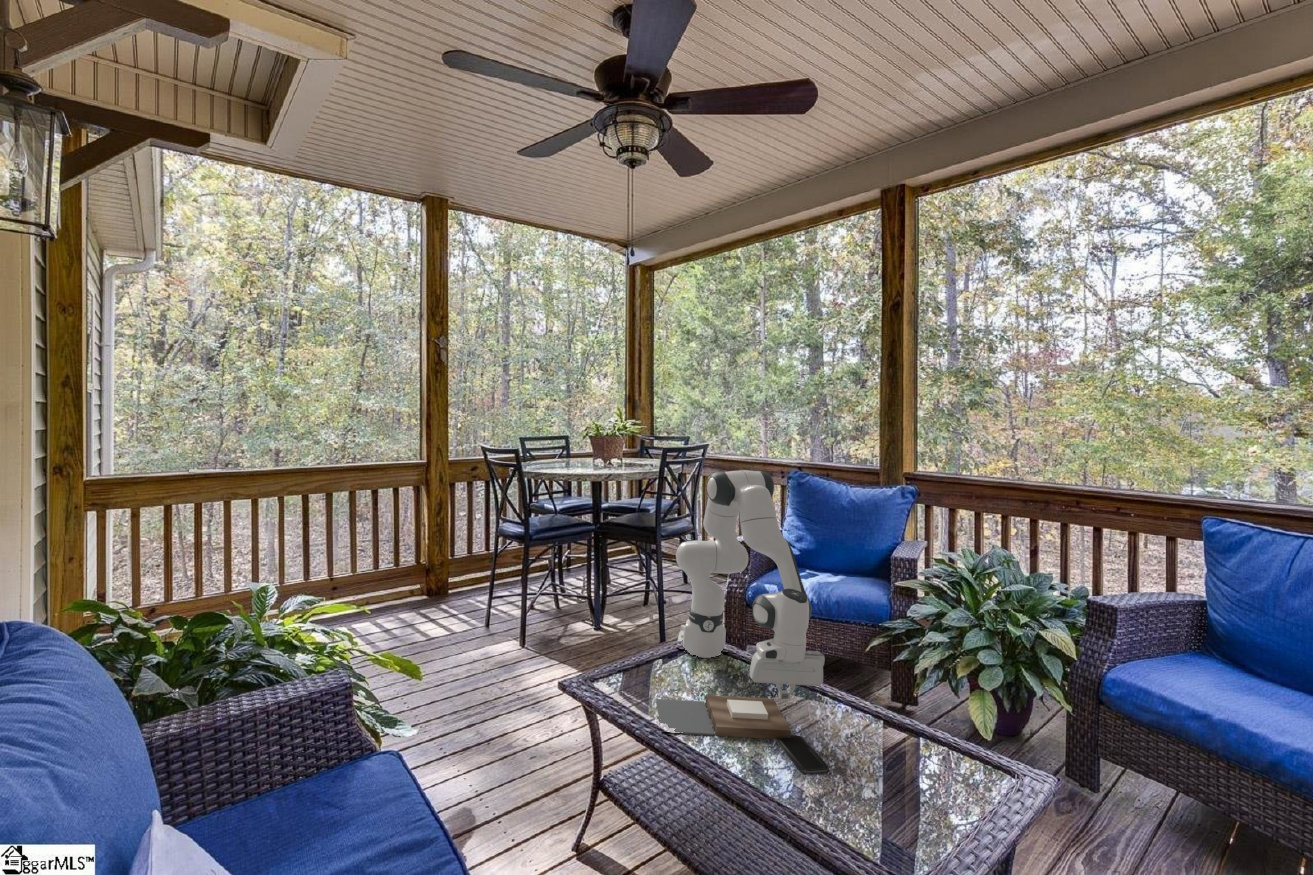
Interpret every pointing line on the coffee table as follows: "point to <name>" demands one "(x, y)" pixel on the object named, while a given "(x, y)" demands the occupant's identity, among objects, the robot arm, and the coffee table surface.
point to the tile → (747, 709)
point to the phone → (802, 755)
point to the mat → (685, 716)
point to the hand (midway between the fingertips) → (783, 698)
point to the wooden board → (746, 719)
